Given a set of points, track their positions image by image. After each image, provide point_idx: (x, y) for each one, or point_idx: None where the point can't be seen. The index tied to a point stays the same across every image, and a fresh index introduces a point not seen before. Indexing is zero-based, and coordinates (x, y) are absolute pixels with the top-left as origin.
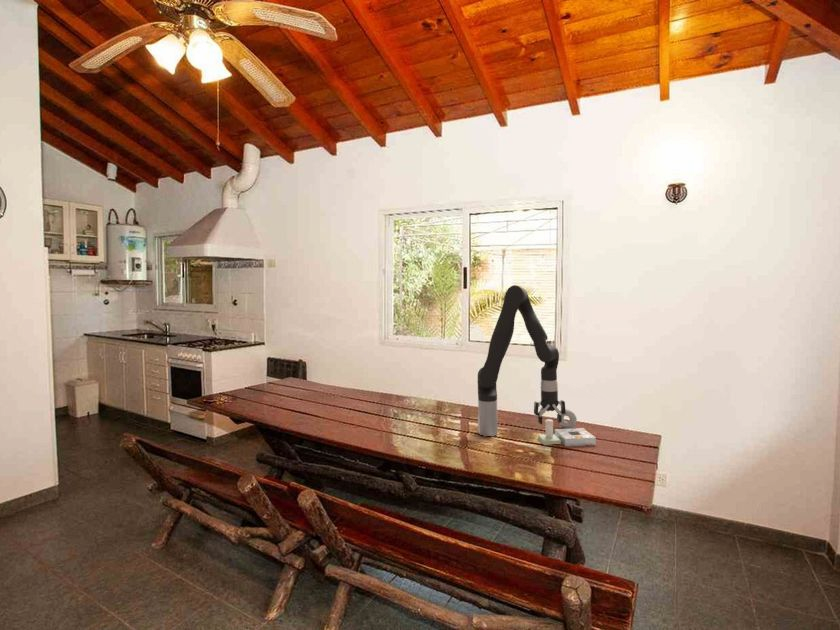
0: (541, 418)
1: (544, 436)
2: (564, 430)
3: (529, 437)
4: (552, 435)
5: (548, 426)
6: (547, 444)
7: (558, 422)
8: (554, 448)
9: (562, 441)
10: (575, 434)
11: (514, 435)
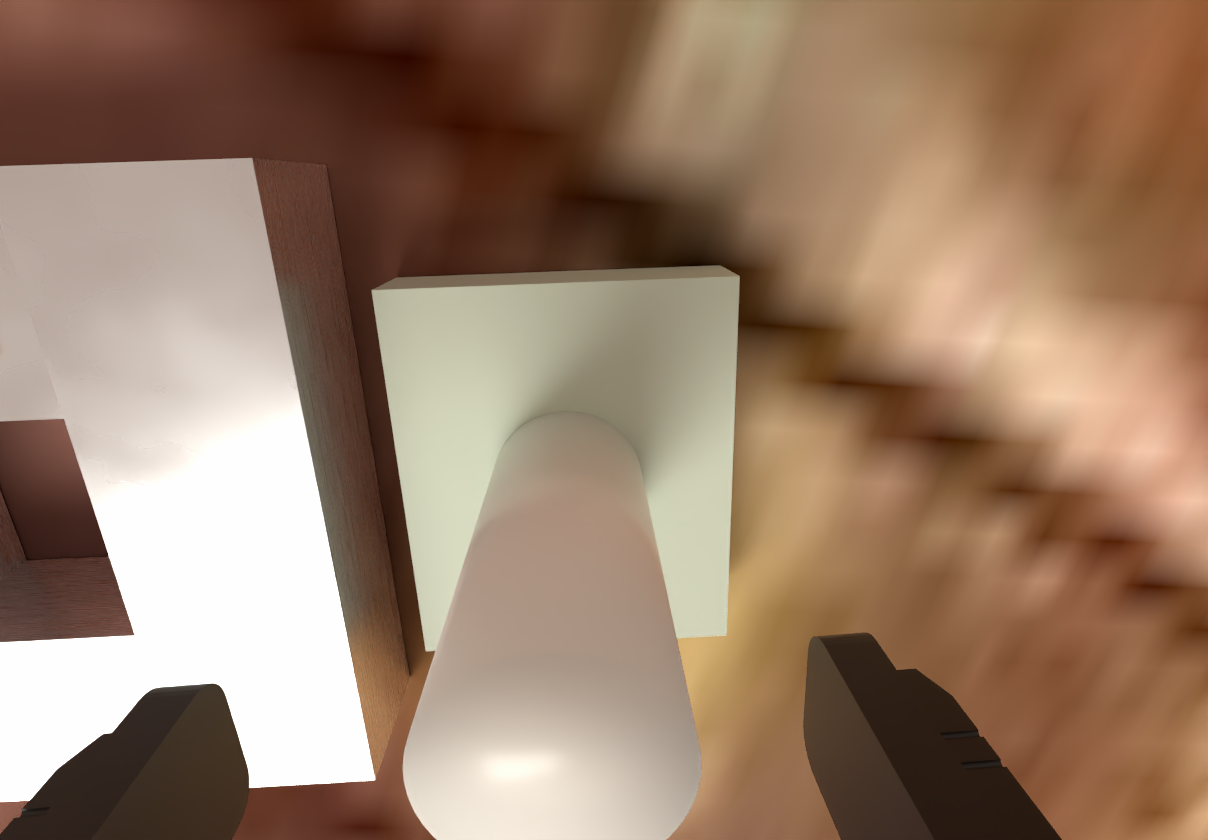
0: (958, 810)
1: None
2: None
3: None
4: (508, 454)
5: (613, 551)
6: (657, 269)
7: (217, 726)
8: (575, 58)
9: (335, 328)
10: (3, 603)
11: (1017, 731)
